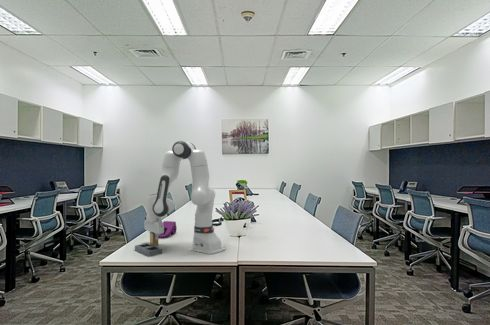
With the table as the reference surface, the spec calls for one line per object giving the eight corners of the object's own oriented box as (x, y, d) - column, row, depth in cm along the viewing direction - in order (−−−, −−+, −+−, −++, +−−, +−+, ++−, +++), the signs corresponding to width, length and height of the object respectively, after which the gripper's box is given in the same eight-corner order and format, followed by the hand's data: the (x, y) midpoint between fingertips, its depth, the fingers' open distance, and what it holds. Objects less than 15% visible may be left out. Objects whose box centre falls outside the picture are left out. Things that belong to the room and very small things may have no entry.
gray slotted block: (162, 253, 186) (162, 248, 186) (148, 256, 180) (148, 251, 180) (148, 247, 199) (148, 242, 199) (134, 250, 192) (134, 245, 192)
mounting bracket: (169, 245, 225) (177, 230, 241) (167, 236, 222) (175, 221, 238) (157, 245, 227) (165, 229, 243) (154, 236, 223) (163, 221, 239)
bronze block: (158, 244, 205) (158, 232, 205) (152, 245, 202) (152, 233, 202) (155, 243, 207) (155, 231, 207) (149, 244, 205) (149, 232, 205)
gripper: (166, 219, 200) (166, 240, 199) (151, 215, 214) (151, 235, 214) (157, 220, 195) (157, 242, 195) (142, 216, 210) (142, 237, 210)
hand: (154, 238), depth 205 cm, fingers closed on bronze block, 4 cm apart
